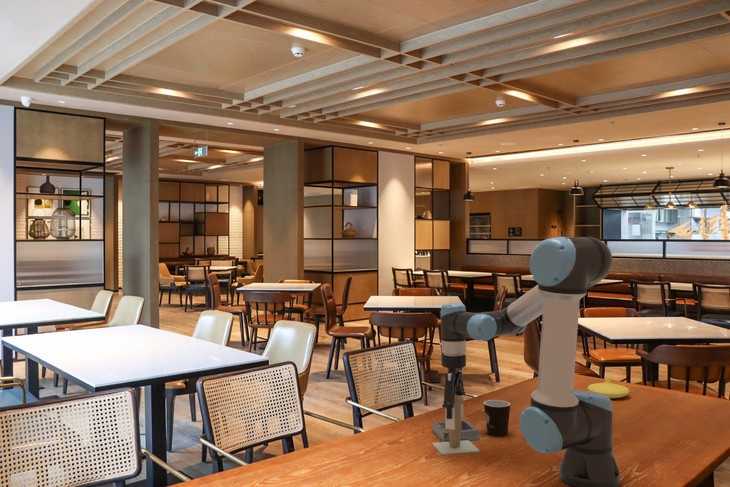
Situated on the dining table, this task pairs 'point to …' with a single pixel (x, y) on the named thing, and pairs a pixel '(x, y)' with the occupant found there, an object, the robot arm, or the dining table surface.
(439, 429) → the silver square frame
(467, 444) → the mat
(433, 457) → the dining table surface
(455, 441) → the handle
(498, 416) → the coffee mug
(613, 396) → the yellow pattypan squash
